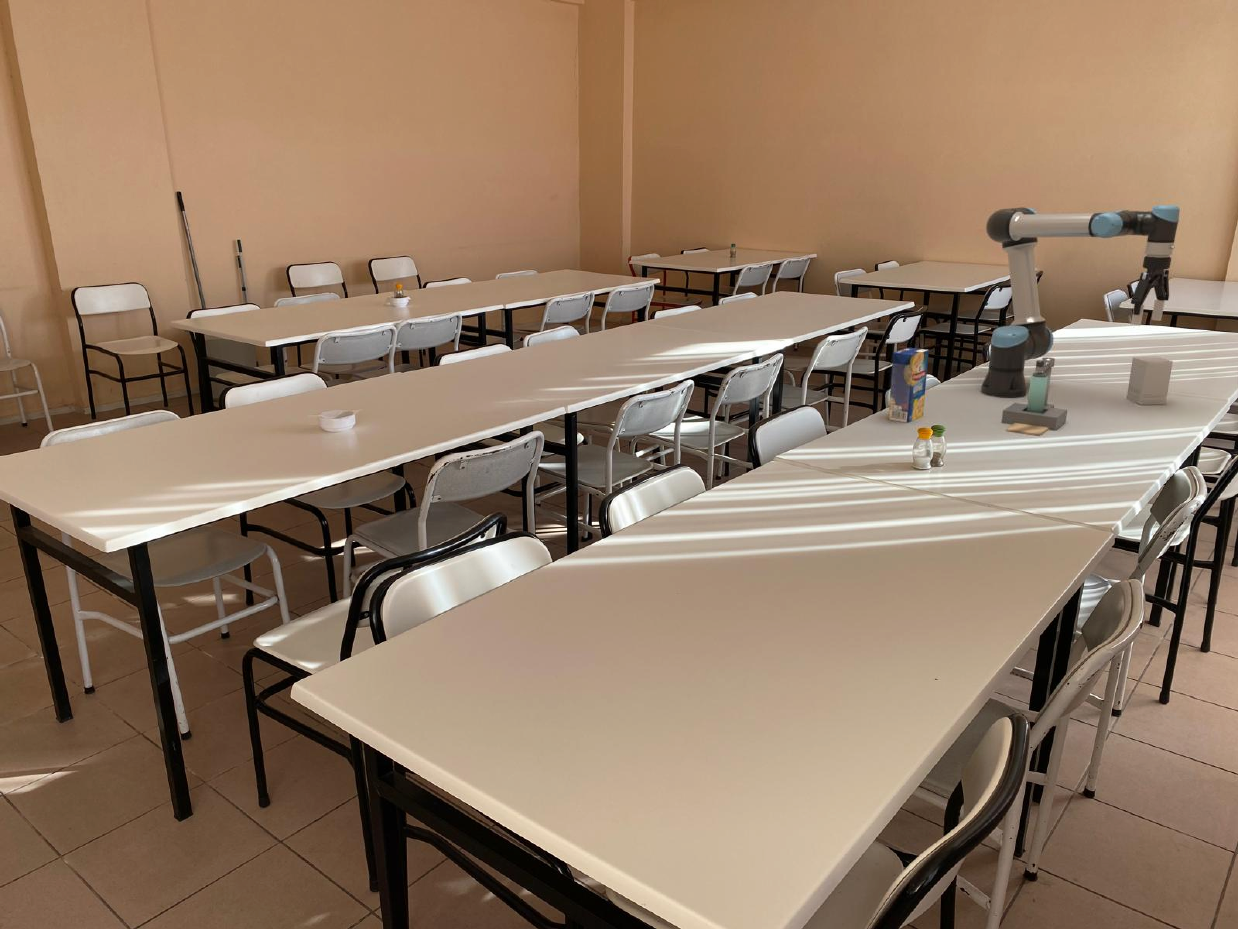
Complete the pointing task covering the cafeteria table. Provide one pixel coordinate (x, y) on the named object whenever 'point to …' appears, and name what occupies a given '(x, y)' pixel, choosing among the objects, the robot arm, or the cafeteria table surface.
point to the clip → (1044, 364)
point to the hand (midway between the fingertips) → (1146, 322)
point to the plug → (1037, 392)
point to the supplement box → (1149, 380)
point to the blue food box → (908, 384)
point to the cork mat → (1027, 429)
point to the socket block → (1047, 419)
